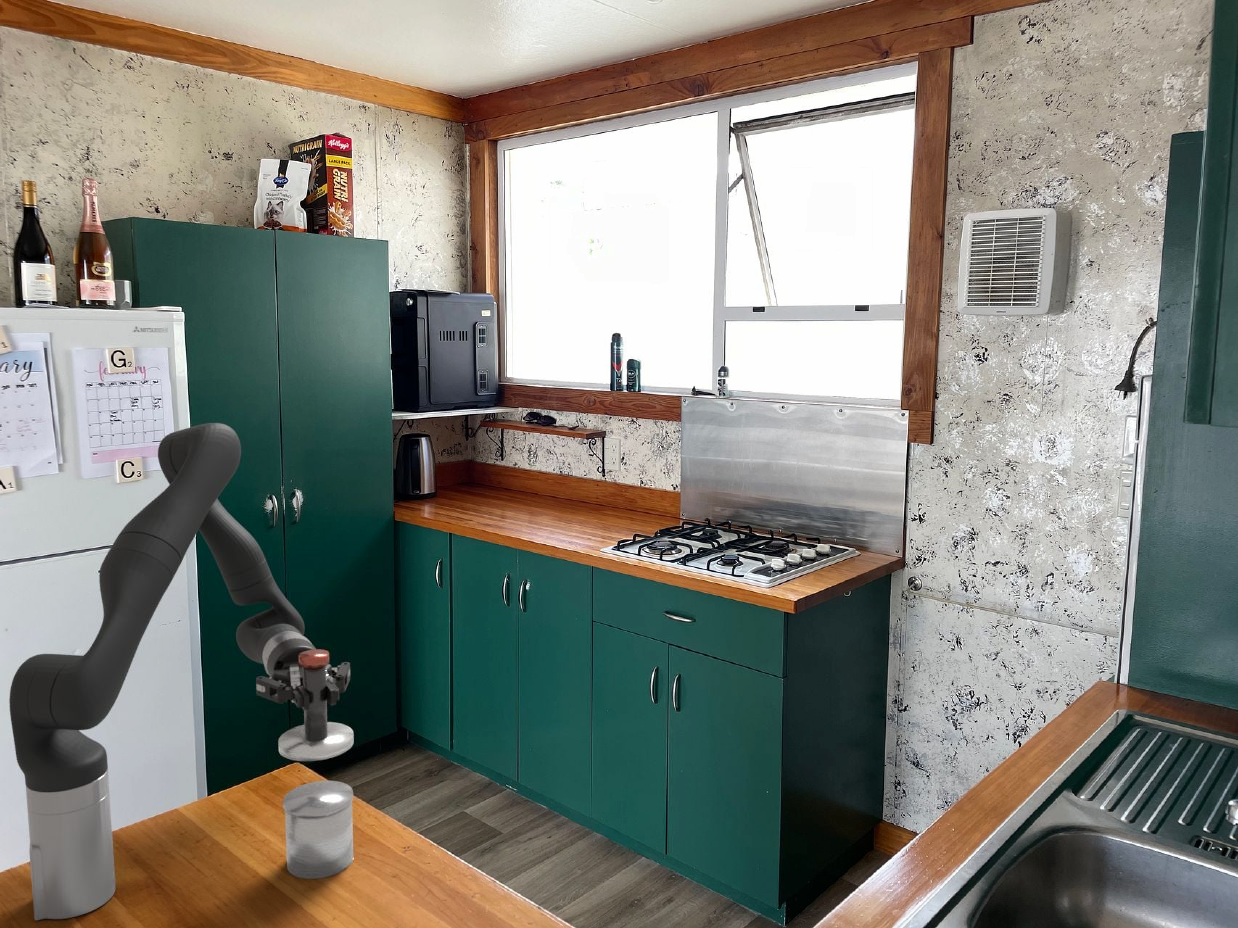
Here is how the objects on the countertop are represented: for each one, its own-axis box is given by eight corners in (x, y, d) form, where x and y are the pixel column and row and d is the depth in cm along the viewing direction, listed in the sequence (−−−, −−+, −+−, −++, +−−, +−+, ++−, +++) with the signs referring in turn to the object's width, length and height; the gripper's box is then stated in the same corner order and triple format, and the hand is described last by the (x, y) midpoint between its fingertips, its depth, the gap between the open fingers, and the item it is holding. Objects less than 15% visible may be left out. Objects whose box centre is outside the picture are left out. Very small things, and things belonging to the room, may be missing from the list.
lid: (287, 767, 123) (283, 671, 122) (271, 738, 132) (268, 649, 130) (362, 750, 129) (360, 659, 127) (342, 724, 137) (340, 638, 135)
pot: (293, 886, 126) (291, 819, 125) (279, 853, 134) (276, 790, 133) (362, 867, 131) (361, 802, 130) (345, 836, 139) (343, 775, 138)
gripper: (242, 645, 137) (265, 683, 123) (338, 630, 144) (371, 665, 130) (244, 693, 138) (267, 737, 124) (339, 677, 145) (372, 716, 131)
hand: (320, 700), depth 127 cm, fingers closed on lid, 3 cm apart
